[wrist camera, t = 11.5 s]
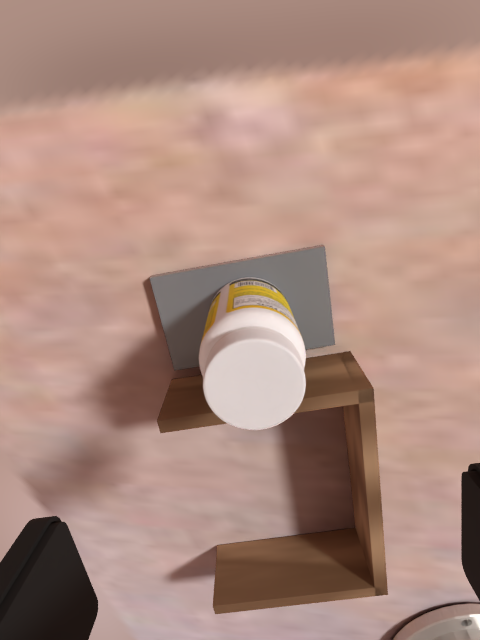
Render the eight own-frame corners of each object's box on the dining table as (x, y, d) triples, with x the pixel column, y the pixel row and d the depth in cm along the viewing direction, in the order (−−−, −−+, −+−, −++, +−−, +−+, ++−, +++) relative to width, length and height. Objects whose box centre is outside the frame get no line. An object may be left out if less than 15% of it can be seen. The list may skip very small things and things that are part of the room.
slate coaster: (332, 340, 24) (335, 344, 23) (176, 366, 24) (174, 370, 24) (322, 244, 22) (324, 246, 21) (151, 275, 22) (149, 277, 22)
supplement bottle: (238, 365, 23) (236, 458, 16) (192, 305, 22) (164, 373, 14) (305, 324, 23) (338, 401, 15) (261, 259, 21) (272, 305, 13)
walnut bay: (366, 534, 29) (387, 594, 25) (219, 552, 30) (215, 614, 26) (350, 351, 24) (373, 388, 20) (171, 379, 25) (156, 421, 20)
